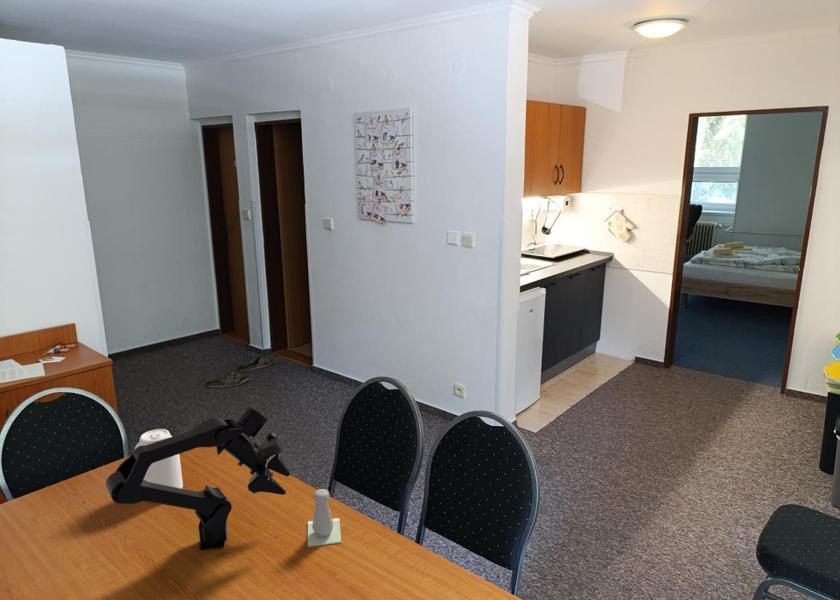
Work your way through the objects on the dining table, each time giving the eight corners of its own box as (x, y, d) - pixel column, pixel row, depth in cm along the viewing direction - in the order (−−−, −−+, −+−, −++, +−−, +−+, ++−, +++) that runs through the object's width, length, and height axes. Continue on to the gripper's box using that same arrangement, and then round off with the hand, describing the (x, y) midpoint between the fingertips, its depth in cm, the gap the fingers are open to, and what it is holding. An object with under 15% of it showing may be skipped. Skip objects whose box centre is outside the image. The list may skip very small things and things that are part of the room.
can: (191, 488, 183) (185, 431, 178) (155, 508, 173) (147, 448, 168) (167, 477, 189) (160, 421, 184) (131, 495, 179) (123, 437, 174)
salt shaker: (332, 539, 158) (330, 497, 154) (311, 540, 157) (309, 498, 154) (334, 526, 163) (332, 485, 160) (314, 526, 163) (312, 486, 160)
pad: (307, 546, 155) (307, 544, 155) (307, 522, 165) (307, 521, 165) (341, 542, 157) (341, 541, 157) (339, 519, 167) (339, 517, 167)
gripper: (257, 447, 147) (303, 483, 151) (269, 415, 165) (309, 448, 169) (228, 476, 148) (274, 511, 152) (243, 441, 166) (284, 473, 170)
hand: (287, 484), depth 161 cm, fingers open, 9 cm apart
